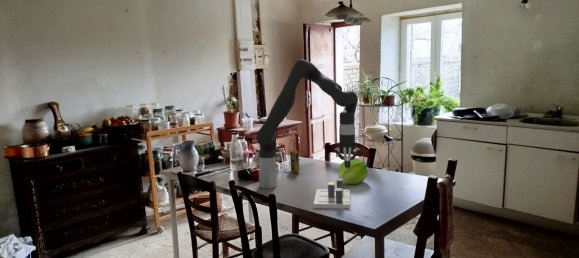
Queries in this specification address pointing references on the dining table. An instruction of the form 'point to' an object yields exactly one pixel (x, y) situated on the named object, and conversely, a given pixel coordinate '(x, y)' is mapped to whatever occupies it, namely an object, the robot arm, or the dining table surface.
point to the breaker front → (338, 195)
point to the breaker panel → (331, 199)
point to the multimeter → (294, 160)
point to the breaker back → (340, 183)
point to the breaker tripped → (331, 189)
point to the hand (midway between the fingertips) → (347, 167)
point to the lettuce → (353, 172)
